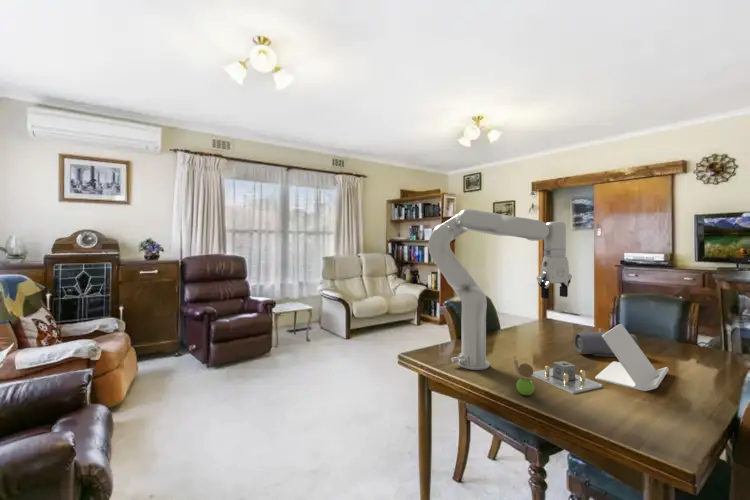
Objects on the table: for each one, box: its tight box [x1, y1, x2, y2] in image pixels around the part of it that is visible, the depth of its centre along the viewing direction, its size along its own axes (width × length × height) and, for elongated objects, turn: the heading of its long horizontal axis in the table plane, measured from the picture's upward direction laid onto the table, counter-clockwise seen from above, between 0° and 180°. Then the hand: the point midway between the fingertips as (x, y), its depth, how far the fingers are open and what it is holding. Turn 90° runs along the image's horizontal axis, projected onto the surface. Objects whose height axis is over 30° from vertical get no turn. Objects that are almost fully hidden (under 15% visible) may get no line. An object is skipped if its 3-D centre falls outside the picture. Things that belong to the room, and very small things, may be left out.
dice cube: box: [552, 360, 576, 381], centre depth 129 cm, size 5×5×5 cm
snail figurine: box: [513, 355, 535, 396], centre depth 118 cm, size 5×6×12 cm
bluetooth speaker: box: [573, 331, 640, 358], centre depth 157 cm, size 23×9×10 cm, turn 84°
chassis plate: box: [532, 365, 603, 395], centre depth 129 cm, size 14×18×4 cm
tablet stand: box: [595, 323, 670, 392], centre depth 133 cm, size 18×25×17 cm
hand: (554, 297), depth 140 cm, fingers open, 9 cm apart
